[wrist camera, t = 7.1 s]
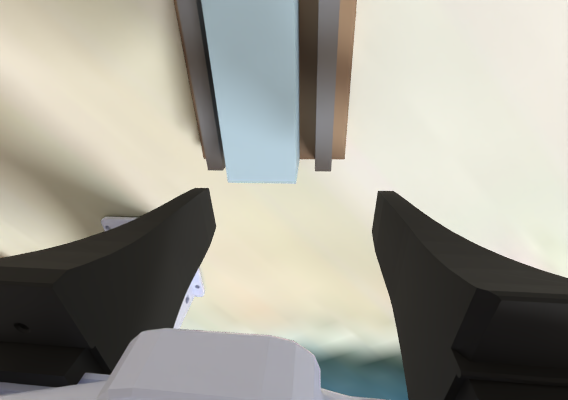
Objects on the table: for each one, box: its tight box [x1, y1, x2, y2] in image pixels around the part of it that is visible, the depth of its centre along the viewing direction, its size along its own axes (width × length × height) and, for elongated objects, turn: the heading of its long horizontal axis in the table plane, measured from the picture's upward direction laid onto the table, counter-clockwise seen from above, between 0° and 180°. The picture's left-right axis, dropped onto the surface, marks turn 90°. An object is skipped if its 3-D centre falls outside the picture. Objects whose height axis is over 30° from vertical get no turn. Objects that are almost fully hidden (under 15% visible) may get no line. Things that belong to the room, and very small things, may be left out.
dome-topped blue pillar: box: [201, 0, 300, 184], centre depth 15 cm, size 12×4×4 cm, turn 2°
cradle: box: [174, 0, 357, 171], centre depth 17 cm, size 12×10×3 cm
